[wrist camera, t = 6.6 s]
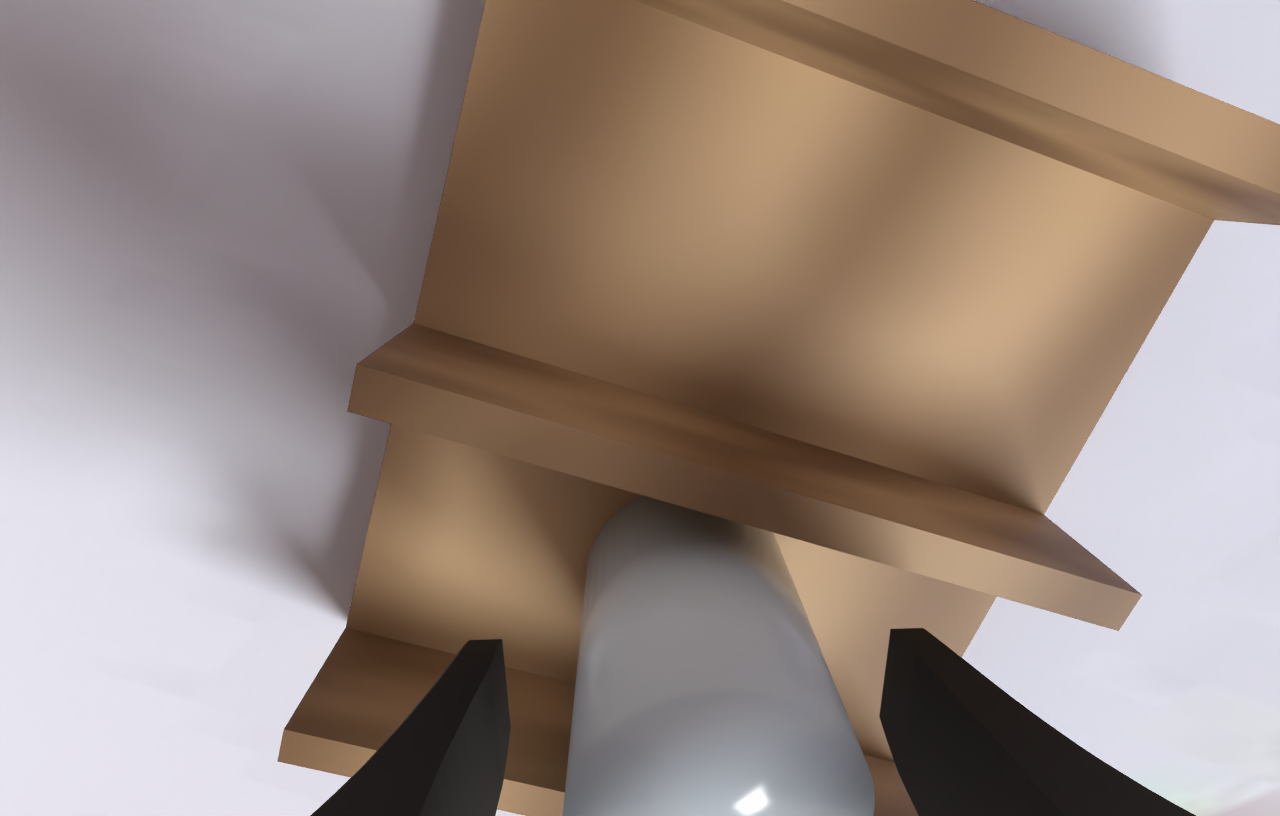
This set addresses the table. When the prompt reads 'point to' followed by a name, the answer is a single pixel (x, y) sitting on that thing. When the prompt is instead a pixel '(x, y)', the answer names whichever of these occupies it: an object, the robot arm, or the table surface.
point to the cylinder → (703, 679)
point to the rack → (765, 334)
